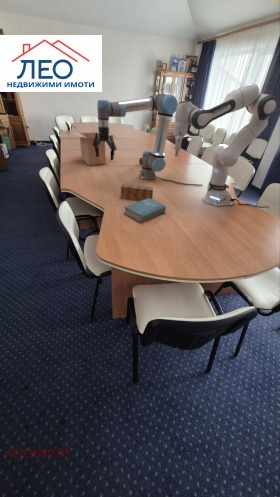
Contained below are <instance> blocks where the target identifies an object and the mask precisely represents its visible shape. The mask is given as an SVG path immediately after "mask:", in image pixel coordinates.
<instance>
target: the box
mask: <svg viewBox="0 0 280 497" xmlns="http://www.w3.org/2000/svg"><path fill="white" fill-rule="evenodd" d="M70 133H71V134H72V135H74V136H75V137H77V138H79V144H80V153H81V160H83V162H85V163H86V165H87V166H95V165H97V166H98V165H106V163H107V162H106V158H107V157H106V141H101V142H100V144H99V145H98V147H99V156H98V157H96V152H95V147H94V146H93V142H94V139H95V133H99V131H98V132H96V131H95V130H92V129H91V130H77V132H76V131H70ZM111 135H112V134H109V136H111ZM99 138H100V137H98V139H99ZM97 141H98V140H97Z"/></svg>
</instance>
